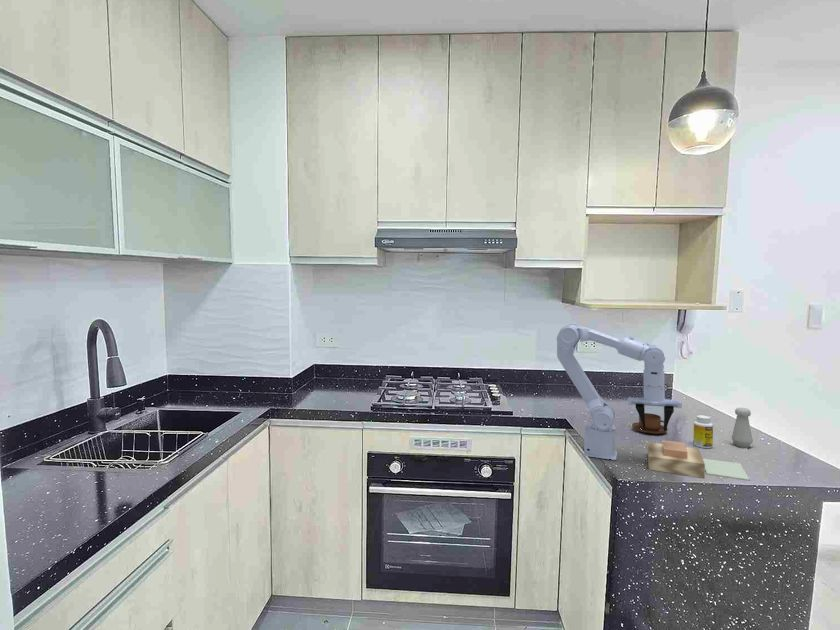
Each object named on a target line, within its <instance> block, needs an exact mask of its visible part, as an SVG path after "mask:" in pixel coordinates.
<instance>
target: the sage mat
mask: <svg viewBox="0 0 840 630" xmlns="http://www.w3.org/2000/svg"><path fill="white" fill-rule="evenodd" d="M703 461H704V463H705V472H706V473H705V474H707V475H710V476H716V477H723V478H724V477H725V478H729V479H730V478H731V479H736V480H744V481H750V478H749V476H748V475H747V472H746V471H745V469H744V468H743V466H742V464H741V463H739V462H733V461H731V462H730V461H726V460H725V461H724V460H717V459H709V458H703Z"/></svg>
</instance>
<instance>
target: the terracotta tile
mask: <svg viewBox="0 0 840 630" xmlns="http://www.w3.org/2000/svg"><path fill="white" fill-rule="evenodd" d="M661 444H662V447H663V453H664V456H670V457H677V458H685V459H687V449H686V447H687V446H686V443H685V442H680V441H672V440H665V439H663V440H662V443H661Z"/></svg>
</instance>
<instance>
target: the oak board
mask: <svg viewBox="0 0 840 630" xmlns="http://www.w3.org/2000/svg"><path fill="white" fill-rule="evenodd" d="M662 444H663V443H657V442H648V441H647V462H648V465H647V466H648V470H649V471H657V472H662V473H669V474H675V475H683V476H690V477H695V478H701V479H702V478H703V479H705V477H706V476H705V474H706V473H705V472H706V470H705V463H704V461H703V459H704V458H703V456H702V453H701V451H700V448H698V447H697V448H695V447H689V446H686V449H687V459H685V458H677V457H670V456H664V453H663V447H662Z"/></svg>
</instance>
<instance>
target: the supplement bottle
mask: <svg viewBox="0 0 840 630" xmlns="http://www.w3.org/2000/svg"><path fill="white" fill-rule="evenodd" d="M713 437H714V423H713V422H711V417H710V416H709V415H708V416H707V415H702V414H700V415H696V420H695V421H693V443H692V444H693V445H694V446H695V447H697V448H699V449H700V448H701V449H712V447H713V446H714V445H713V442H714V441H713V440H714V438H713Z"/></svg>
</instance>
